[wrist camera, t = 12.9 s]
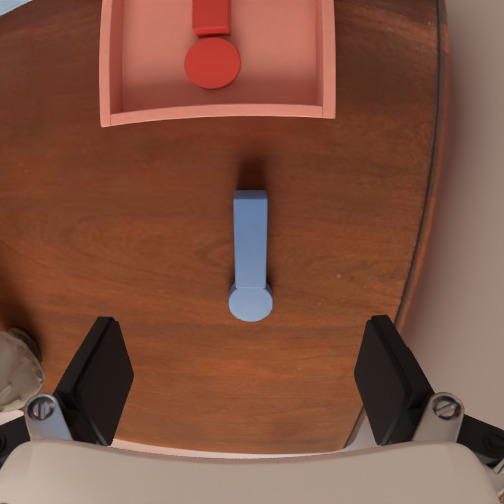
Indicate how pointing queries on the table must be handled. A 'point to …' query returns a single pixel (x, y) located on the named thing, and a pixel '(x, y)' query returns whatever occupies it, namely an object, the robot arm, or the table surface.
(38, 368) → the figurine
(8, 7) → the blue tray
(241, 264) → the blue spoon
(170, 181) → the table surface
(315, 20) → the red tray
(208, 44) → the red spoon
